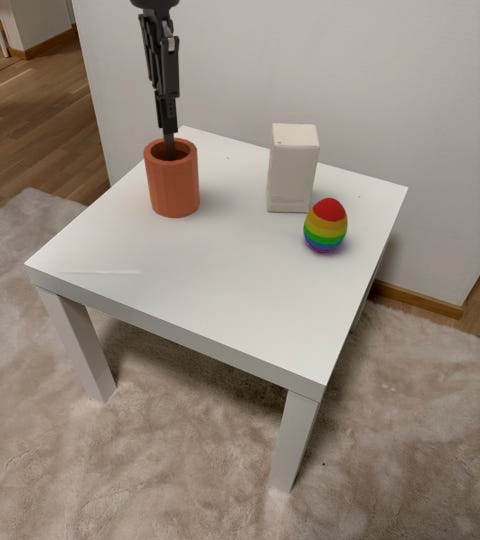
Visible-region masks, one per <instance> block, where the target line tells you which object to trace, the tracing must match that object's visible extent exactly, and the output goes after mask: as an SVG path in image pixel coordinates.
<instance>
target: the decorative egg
mask: <svg viewBox="0 0 480 540" xmlns="http://www.w3.org/2000/svg"><path fill="white" fill-rule="evenodd" d="M348 223H349V222H348V214H347V212H346V209H345V207H344V205H343V204H342V203H341V202H340V200H338V199H336V198H334V197H325V198H322V199H320V200H319V201H318V200H317V202H315V203H314V204H313V205H312V206H311V207H310V208H309V212H308V213H306V216H305V219H304V221H303V227H302V228H303V236H304V240H305V242H306V244H307V245H308V246H309V247H310V248H311V249H312V250H314V251H316V252H320V253H328V252H332V251H334V250H335V249H337V248H338V247H339V246H340V245H341V244H342V243H343V241H344V240H345V238H346V235H347V233H348V227H349V226H348V225H349V224H348Z"/></svg>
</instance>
